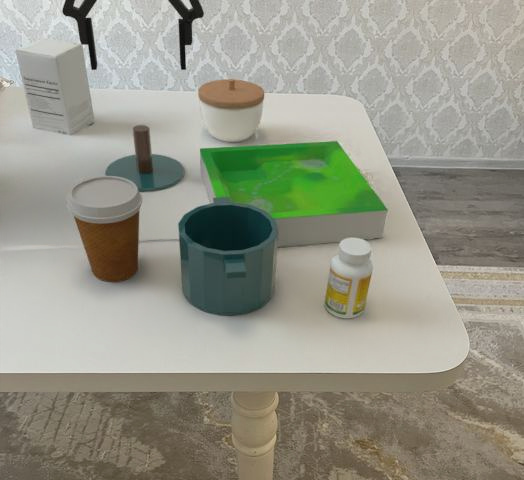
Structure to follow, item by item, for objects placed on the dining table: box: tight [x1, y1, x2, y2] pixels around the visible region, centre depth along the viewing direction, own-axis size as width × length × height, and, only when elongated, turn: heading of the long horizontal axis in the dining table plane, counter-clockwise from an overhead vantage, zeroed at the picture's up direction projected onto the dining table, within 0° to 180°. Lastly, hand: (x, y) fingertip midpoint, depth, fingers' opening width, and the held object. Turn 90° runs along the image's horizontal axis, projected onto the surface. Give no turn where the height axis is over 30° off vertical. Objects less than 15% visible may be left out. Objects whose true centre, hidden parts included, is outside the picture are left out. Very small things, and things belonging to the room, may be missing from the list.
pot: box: [177, 197, 279, 317], centre depth 78 cm, size 13×18×10 cm
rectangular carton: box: [15, 37, 95, 136], centre depth 114 cm, size 9×9×15 cm
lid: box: [105, 124, 185, 192], centre depth 102 cm, size 14×14×9 cm
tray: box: [199, 140, 389, 248], centre depth 97 cm, size 25×25×5 cm
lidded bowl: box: [197, 78, 265, 143], centre depth 115 cm, size 13×13×11 cm
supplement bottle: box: [324, 238, 374, 319], centre depth 76 cm, size 5×5×10 cm
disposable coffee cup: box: [66, 175, 143, 283], centre depth 79 cm, size 10×10×12 cm
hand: (139, 67), depth 92 cm, fingers open, 13 cm apart
